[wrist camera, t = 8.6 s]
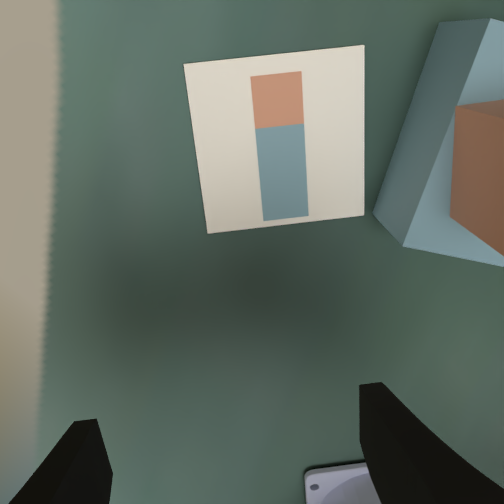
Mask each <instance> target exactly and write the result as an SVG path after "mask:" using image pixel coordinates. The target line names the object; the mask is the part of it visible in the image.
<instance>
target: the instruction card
mask: <svg viewBox="0 0 504 504" xmlns="http://www.w3.org/2000/svg"><path fill="white" fill-rule="evenodd" d="M184 71H185V78H186V85H187V92H188V99H189V106H190V113H191V120H192V127H193V134H194V141H195V148H196V155H197V162H198V169H199V176H200V183H201V190H202V197H203V204H204V211H205V218H206V225H207V232H208V234H209V233H217V232H226V231H234V230H243V229H251V228H260V227H268V226H277V225H286V224H294V223H303V222H311V221H320V220H328V219H337V218H345V217H354V216H362V215H364V45H358V46H349V47H339V48H330V49H320V50H311V51H301V52H292V53H282V54H273V55H263V56H254V57H244V58H235V59H226V60H216V61H207V62H197V63H188V64H184Z"/></svg>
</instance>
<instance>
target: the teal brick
mask: <svg viewBox="0 0 504 504" xmlns="http://www.w3.org/2000/svg"><path fill="white" fill-rule="evenodd" d="M503 99H504V22H502V21H499V20H495V19H492V18H487V19H474V20H461V21H448V22H439V25H438V27H437V30H436V33H435V36H434V39H433V42H432V44H431V47H430V50H429V53H428V56H427V59H426V61H425V64H424V67H423V70H422V73H421V76H420V79H419V81H418V84H417V87H416V90H415V93H414V96H413V98H412V101H411V104H410V107H409V110H408V113H407V115H406V118H405V121H404V124H403V127H402V130H401V133H400V135H399V138H398V141H397V144H396V147H395V150H394V152H393V155H392V158H391V161H390V164H389V167H388V169H387V172H386V175H385V178H384V181H383V184H382V186H381V189H380V192H379V195H378V198H377V201H376V204H375V206H374V209H373V212H372V214H373V215H374V216H375V217H376V218H377V219H378V221H379V222H380V223H381V224H382V225H383V226H384V227H385V228H386V229H387V230H388V231H389V232H390V233H391V235H392V236H393V237H394V238H395V239H396V240H397V241H398V242H399V243H400V244H401V245H402V246H404V247H409V248H414V249H419V250H424V251H428V252H433V253H438V254H443V255H448V256H453V257H458V258H463V259H468V260H473V261H478V262H483V263H488V264H493V265H498V266H503V267H504V256H502V255H501V254H500V253H498V252H497V251H496V250H494V249H493V248H492V247H490V246H489V245H487V244H486V243H485V242H483V241H482V240H481V239H479V238H478V237H477V236H475V235H474V234H473V233H471V232H470V231H468V230H467V229H466V228H464V227H463V226H462V225H460V224H459V223H458V222H456V221H455V220H453V219H452V218H451V217H450V202H451V183H452V164H453V144H454V125H455V106H459V105H466V104H474V103H481V102H488V101H496V100H503Z"/></svg>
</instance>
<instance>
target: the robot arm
mask: <svg viewBox="0 0 504 504" xmlns="http://www.w3.org/2000/svg"><path fill="white" fill-rule="evenodd" d="M359 408H360V444H361V447H362V451H363V454H364V458H365V461H366V462H365V463H358V464H350V465H343V466H335V467H328V468H320V469H313V470H309V471H308V472H306V474H305V476H304V479H305V494H306V504H504V489H503V488H502V487H500V486H499V485H497V484H496V483H495V482H493V481H492V480H490V479H489V478H488V477H486V476H485V475H484V474H482V473H481V472H480V471H478V470H477V469H476V468H474V467H473V466H472V465H471V464H469V463H468V462H467V461H466V460H464V459H463V458H462V457H461V456H459V455H458V454H457V453H456V452H455V451H453V450H452V449H451V448H450V447H449V446H448V445H446V444H445V443H444V442H443V441H442V440H441V439H440V438H438V437H437V436H436V435H435V434H434V433H433V432H432V431H431V430H430V429H429V428H428V427H426V426H425V425H424V424H423V423H422V422H421V421H420V420H419V419H418V418H417V417H416V416H415V415H414V414H413V413H412V412H411V411H410V410H409V409H408V408H407V407H406V406H405V405H404V404H403V403H402V402H401V401H400V400H399V399H398V398H397V397H396V396H395V395H394V394H393V393H392V392H391V391H390V390H389V389H388V388H387V387H386V386H385V385H384V384H383V383H382V382H378V383H370V384H362V385H359ZM112 477H113V472H112V469H111V465H110V462H109V459H108V455H107V452H106V448H105V445H104V442H103V438H102V435H101V432H100V428H99V425H98V421H97V419H90V420H82V421H74V422H73V424H72V425H71V426H70V427H69V428H68V430H67V431H66V432H65V434H64V435H63V436H62V437H61V439H60V440H59V441H58V443H57V444H56V445H55V447H54V448H53V449H52V451H51V452H50V453H49V454H48V456H47V457H46V458H45V460H44V461H43V462H42V463H41V465H40V466H39V467H38V468H37V470H36V471H35V472H34V473H33V475H32V476H31V477H30V478H29V480H28V481H27V482H26V483H25V485H24V486H23V487H22V488H21V490H20V491H19V492H18V493H17V494H16V496H15V497H14V498H13V499H12V500H11V501H10V502H9V504H109V501H110V494H111V485H112ZM313 484H314V485H313Z"/></svg>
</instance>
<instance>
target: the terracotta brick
mask: <svg viewBox="0 0 504 504" xmlns="http://www.w3.org/2000/svg"><path fill="white" fill-rule="evenodd" d="M450 217H451V218H452V219H453V220H455V221H456V222H458V223H459V224H460V225H462V226H463V227H464V228H466V229H467V230H468V231H470V232H471V233H473V234H474V235H475V236H477V237H478V238H479V239H481V240H482V241H483V242H485V243H486V244H487V245H489V246H490V247H492V248H493V249H494V250H496V251H497V252H498V253H500V254H501V255H502V256H504V99H503V100H496V101H488V102H481V103H474V104H466V105H459V106H455V125H454V144H453V164H452V183H451V202H450Z"/></svg>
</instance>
